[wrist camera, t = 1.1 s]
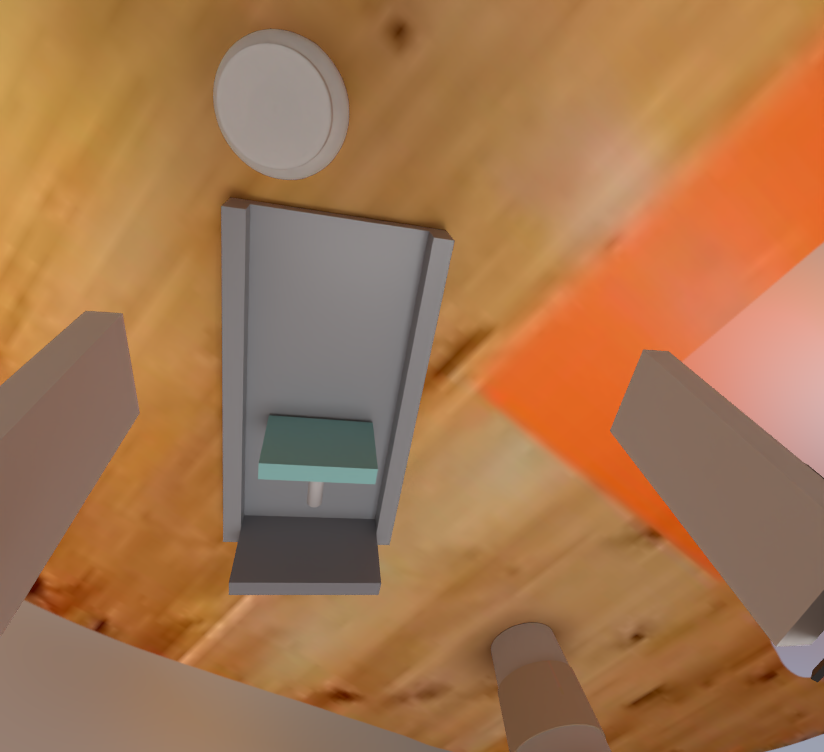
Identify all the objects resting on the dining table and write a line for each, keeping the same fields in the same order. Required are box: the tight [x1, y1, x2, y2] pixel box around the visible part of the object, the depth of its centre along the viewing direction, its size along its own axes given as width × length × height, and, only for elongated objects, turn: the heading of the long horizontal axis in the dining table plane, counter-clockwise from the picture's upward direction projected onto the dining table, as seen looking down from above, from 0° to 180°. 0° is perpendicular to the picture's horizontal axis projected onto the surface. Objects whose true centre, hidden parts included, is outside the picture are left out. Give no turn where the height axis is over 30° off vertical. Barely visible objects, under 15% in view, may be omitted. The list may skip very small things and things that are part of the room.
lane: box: [221, 197, 454, 595], centre depth 31 cm, size 24×12×7 cm, turn 170°
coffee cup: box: [491, 623, 611, 752], centre depth 46 cm, size 9×9×15 cm
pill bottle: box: [213, 29, 349, 180], centre depth 21 cm, size 5×5×10 cm
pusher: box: [258, 415, 378, 507], centre depth 33 cm, size 5×7×5 cm
